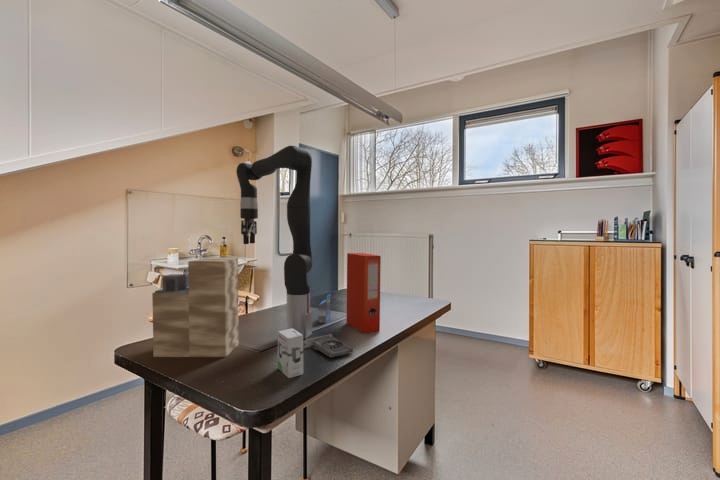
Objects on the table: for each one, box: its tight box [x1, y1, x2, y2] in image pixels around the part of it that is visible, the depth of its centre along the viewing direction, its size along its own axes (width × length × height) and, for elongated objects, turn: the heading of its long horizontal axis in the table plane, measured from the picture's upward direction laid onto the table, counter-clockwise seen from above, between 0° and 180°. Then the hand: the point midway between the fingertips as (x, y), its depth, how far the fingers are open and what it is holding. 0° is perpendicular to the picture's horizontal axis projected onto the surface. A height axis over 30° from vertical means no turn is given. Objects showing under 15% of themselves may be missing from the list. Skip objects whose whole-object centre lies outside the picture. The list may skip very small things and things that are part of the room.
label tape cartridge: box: [317, 292, 332, 324], centre depth 154 cm, size 9×4×12 cm, turn 172°
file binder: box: [346, 252, 382, 335], centre depth 143 cm, size 8×17×32 cm, turn 25°
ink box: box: [277, 328, 304, 379], centre depth 99 cm, size 9×5×12 cm, turn 36°
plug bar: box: [162, 273, 189, 291], centre depth 120 cm, size 22×5×5 cm, turn 0°
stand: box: [151, 257, 240, 358], centre depth 115 cm, size 12×24×32 cm, turn 90°
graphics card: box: [303, 333, 354, 358], centre depth 116 cm, size 17×4×12 cm
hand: (249, 243), depth 150 cm, fingers open, 8 cm apart
